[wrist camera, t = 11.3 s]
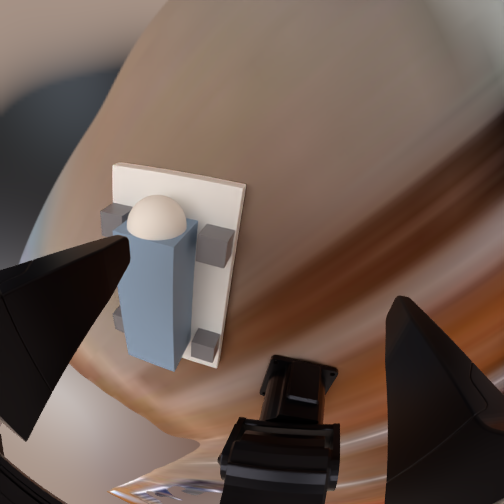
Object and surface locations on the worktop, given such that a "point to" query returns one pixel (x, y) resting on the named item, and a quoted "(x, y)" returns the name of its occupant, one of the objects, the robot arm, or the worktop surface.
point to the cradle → (207, 244)
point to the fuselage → (158, 280)
